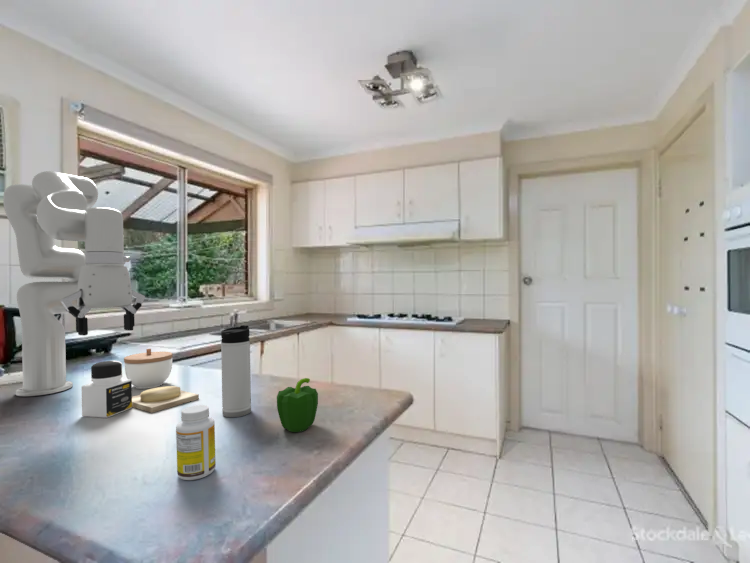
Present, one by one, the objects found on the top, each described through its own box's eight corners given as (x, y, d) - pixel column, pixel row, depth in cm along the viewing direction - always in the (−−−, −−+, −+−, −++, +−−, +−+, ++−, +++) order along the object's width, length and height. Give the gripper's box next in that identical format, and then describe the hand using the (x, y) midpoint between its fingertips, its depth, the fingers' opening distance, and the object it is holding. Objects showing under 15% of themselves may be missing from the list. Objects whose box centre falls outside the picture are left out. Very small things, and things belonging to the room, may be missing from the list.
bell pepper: (275, 438, 74) (275, 386, 74) (278, 422, 82) (277, 376, 82) (319, 433, 76) (318, 383, 76) (317, 419, 84) (316, 373, 84)
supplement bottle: (205, 461, 65) (204, 401, 65) (222, 471, 61) (220, 407, 61) (170, 474, 61) (169, 409, 61) (186, 486, 57) (185, 417, 57)
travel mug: (257, 410, 91) (256, 325, 91) (237, 419, 85) (235, 329, 85) (237, 406, 94) (236, 324, 94) (216, 415, 88) (214, 328, 88)
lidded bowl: (145, 379, 122) (145, 345, 122) (182, 380, 120) (181, 345, 120) (113, 391, 110) (112, 352, 110) (153, 392, 108) (152, 352, 108)
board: (122, 403, 98) (122, 393, 98) (168, 391, 108) (168, 382, 108) (151, 412, 90) (151, 401, 90) (198, 399, 100) (198, 388, 100)
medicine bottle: (107, 418, 87) (106, 365, 87) (81, 416, 89) (80, 364, 89) (132, 408, 94) (131, 359, 94) (108, 406, 96) (107, 358, 96)
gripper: (135, 262, 101) (137, 327, 100) (53, 260, 86) (55, 336, 86) (150, 261, 97) (152, 328, 97) (67, 258, 82) (69, 338, 82)
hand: (106, 332), depth 91 cm, fingers open, 9 cm apart
